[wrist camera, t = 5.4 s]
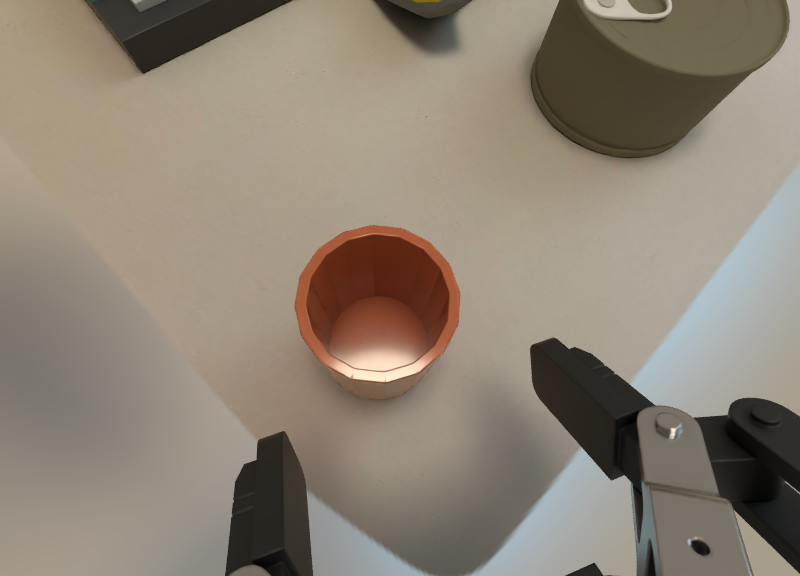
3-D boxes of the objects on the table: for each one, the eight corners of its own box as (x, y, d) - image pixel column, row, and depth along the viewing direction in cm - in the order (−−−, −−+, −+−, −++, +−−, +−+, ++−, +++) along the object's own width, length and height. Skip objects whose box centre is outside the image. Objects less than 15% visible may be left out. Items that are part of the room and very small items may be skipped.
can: (729, 142, 28) (835, 54, 21) (566, 176, 26) (627, 92, 20) (651, 15, 32) (721, -93, 25) (504, 38, 30) (539, -70, 24)
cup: (369, 423, 21) (363, 419, 13) (302, 335, 22) (263, 285, 15) (454, 352, 22) (493, 311, 15) (387, 273, 24) (390, 198, 16)
